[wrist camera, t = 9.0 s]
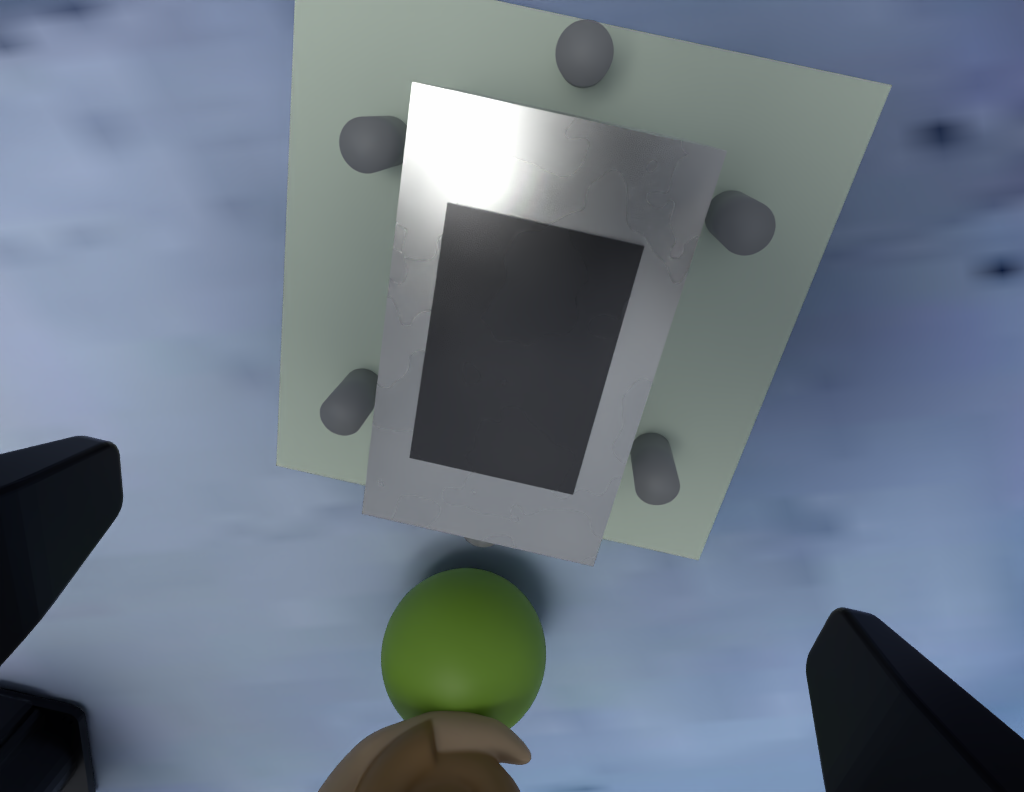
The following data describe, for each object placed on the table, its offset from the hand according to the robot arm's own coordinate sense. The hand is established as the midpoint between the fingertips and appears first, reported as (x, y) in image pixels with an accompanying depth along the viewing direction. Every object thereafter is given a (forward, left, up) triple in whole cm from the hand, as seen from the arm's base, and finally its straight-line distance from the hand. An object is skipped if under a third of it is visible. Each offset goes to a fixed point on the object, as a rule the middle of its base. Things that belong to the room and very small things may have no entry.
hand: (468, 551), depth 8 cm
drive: (0, 0, -11) cm, 11 cm away
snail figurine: (-12, 0, -12) cm, 17 cm away
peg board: (0, 0, -12) cm, 12 cm away
